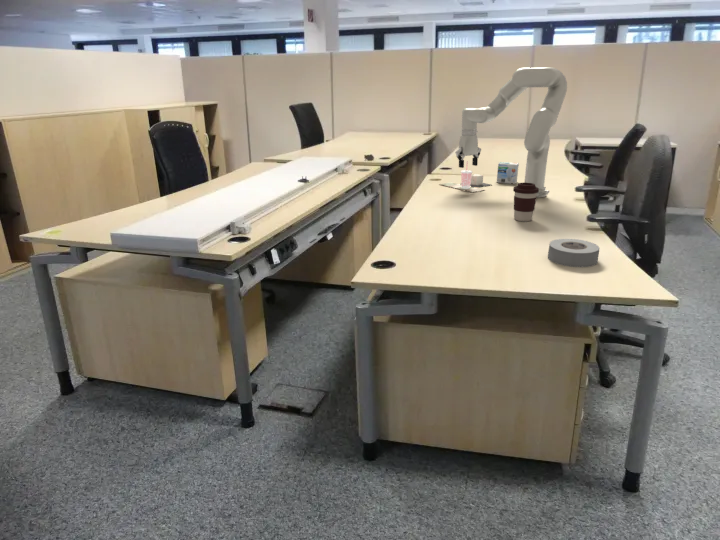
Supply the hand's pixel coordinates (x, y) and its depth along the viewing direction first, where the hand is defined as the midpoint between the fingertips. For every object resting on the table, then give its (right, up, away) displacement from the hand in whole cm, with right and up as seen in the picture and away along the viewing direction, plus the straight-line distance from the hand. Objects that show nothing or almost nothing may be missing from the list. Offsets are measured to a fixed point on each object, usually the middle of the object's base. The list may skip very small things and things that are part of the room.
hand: (468, 166), depth 281 cm
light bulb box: (+26, -5, +21) cm, 34 cm away
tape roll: (+13, -51, -106) cm, 118 cm away
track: (-2, -10, +7) cm, 13 cm away
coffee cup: (+11, -34, -58) cm, 68 cm away
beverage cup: (0, -11, +4) cm, 12 cm away
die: (+7, -7, +14) cm, 17 cm away
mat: (+7, -7, +14) cm, 17 cm away
